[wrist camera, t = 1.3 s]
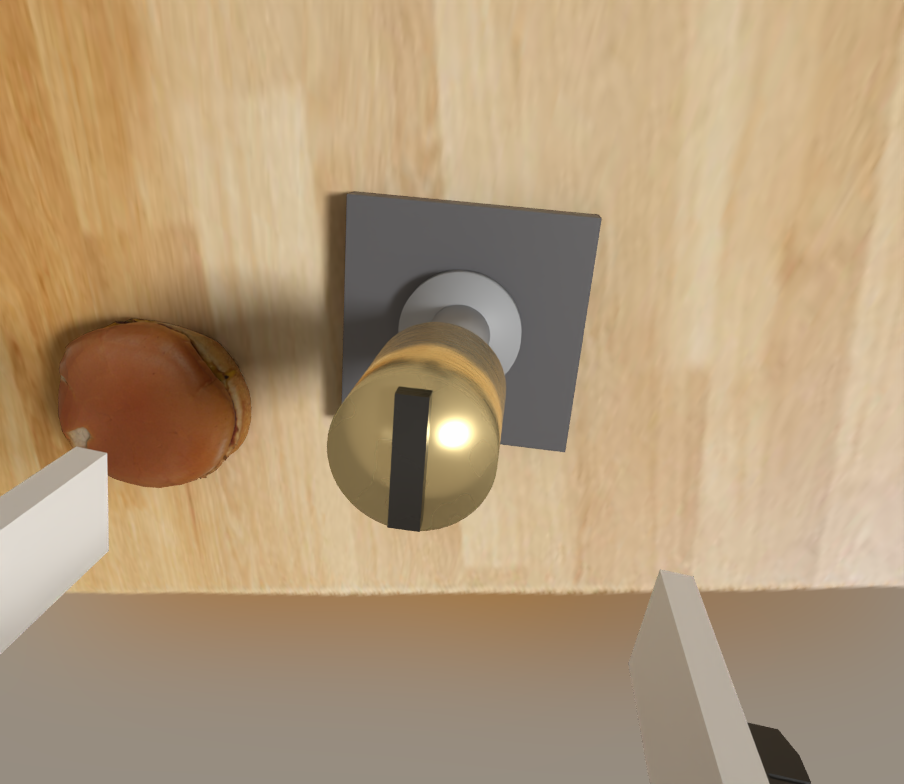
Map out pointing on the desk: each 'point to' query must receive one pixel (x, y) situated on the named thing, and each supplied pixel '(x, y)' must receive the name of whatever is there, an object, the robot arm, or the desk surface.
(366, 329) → the post block
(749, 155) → the desk surface
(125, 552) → the desk surface
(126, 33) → the desk surface
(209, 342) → the burger
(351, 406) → the cap
